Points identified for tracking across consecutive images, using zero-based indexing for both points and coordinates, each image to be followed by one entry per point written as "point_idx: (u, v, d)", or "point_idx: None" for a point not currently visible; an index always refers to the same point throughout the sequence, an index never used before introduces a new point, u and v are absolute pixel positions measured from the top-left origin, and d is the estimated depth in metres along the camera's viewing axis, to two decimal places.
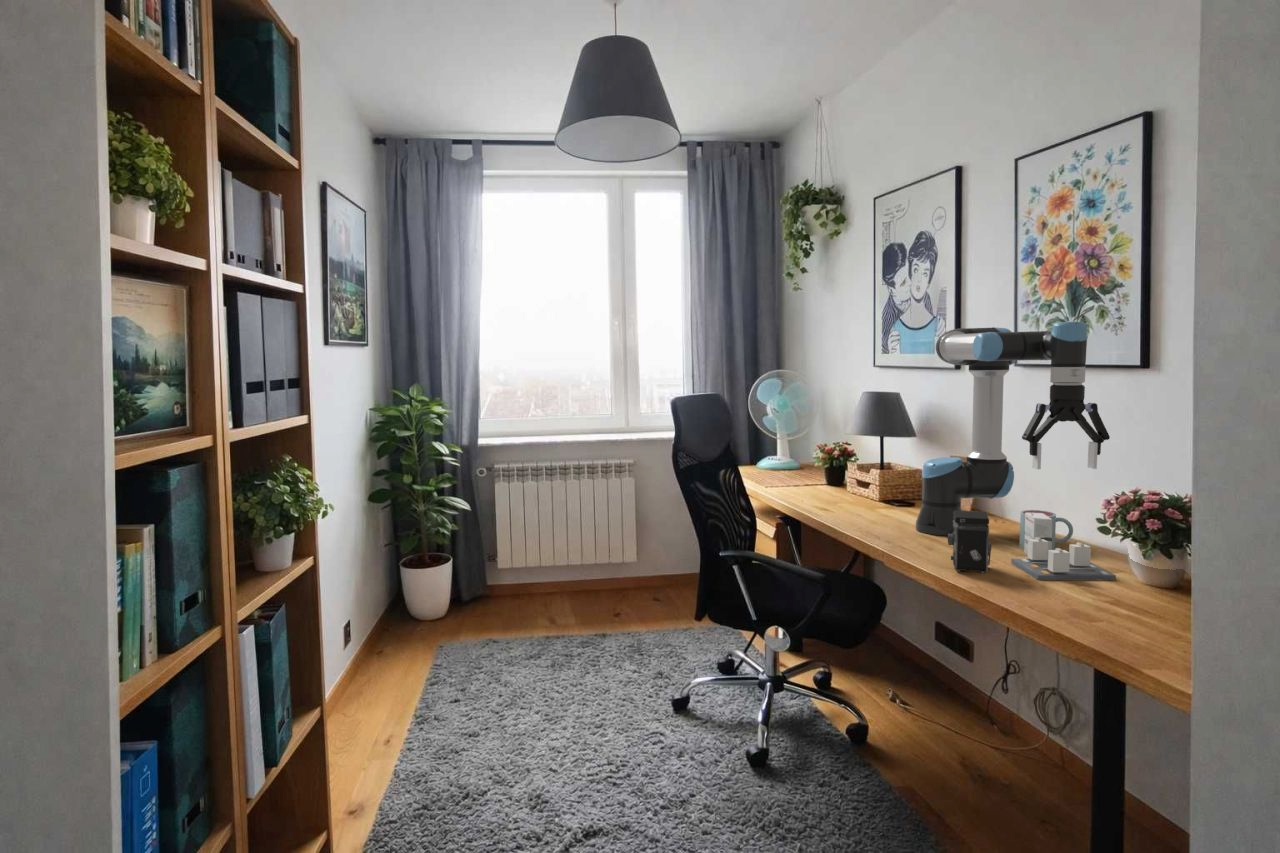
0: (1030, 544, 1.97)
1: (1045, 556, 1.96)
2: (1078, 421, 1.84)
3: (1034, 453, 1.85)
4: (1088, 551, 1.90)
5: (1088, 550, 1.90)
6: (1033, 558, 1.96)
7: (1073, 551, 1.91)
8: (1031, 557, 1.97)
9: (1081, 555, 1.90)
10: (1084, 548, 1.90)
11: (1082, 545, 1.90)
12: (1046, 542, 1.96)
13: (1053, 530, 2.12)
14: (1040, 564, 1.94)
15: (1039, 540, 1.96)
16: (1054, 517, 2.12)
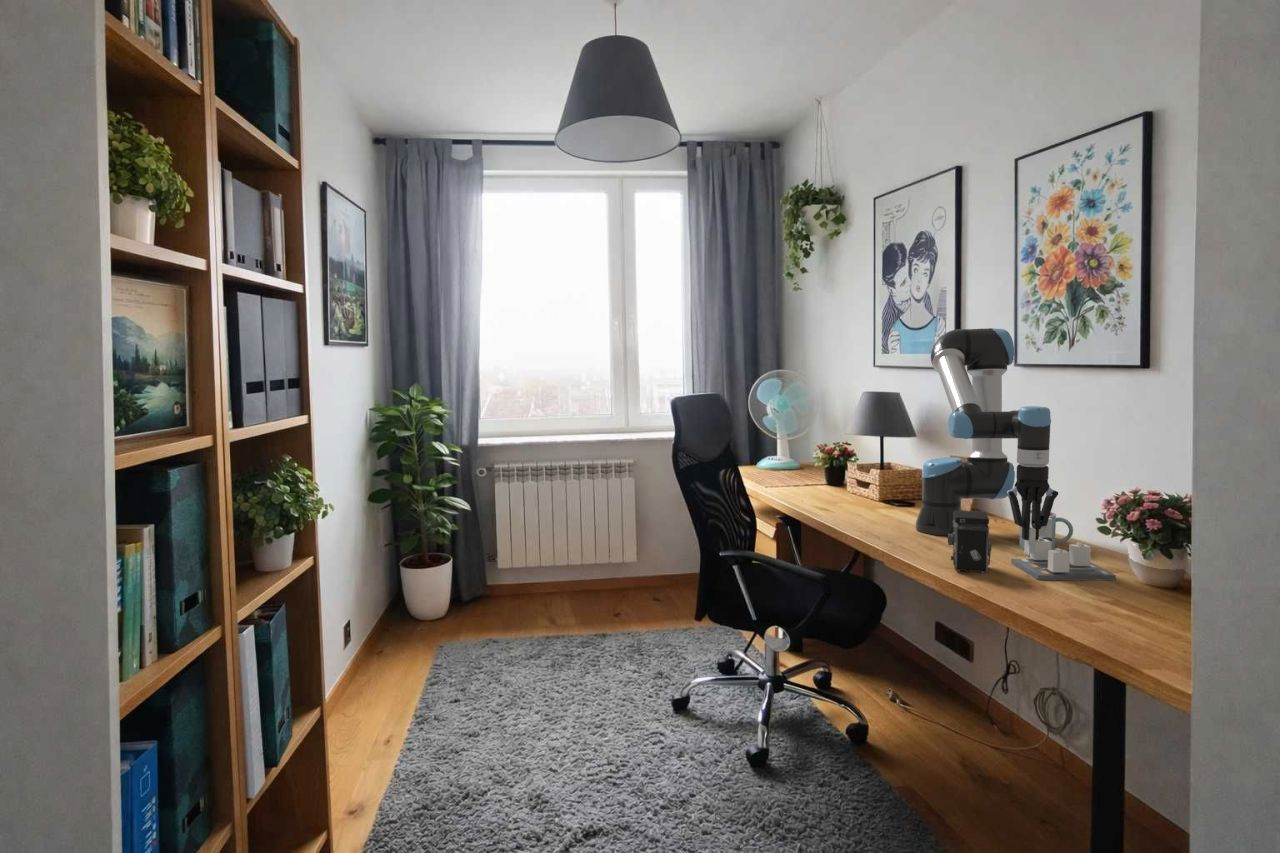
0: None
1: (1047, 556, 1.96)
2: (1034, 501, 1.96)
3: (1026, 538, 1.97)
4: (1088, 551, 1.90)
5: (1088, 550, 1.90)
6: (1035, 558, 1.96)
7: (1073, 551, 1.91)
8: (1033, 557, 1.97)
9: (1081, 555, 1.90)
10: (1084, 548, 1.90)
11: (1082, 545, 1.90)
12: (1048, 542, 1.96)
13: (1053, 530, 2.12)
14: (1040, 564, 1.94)
15: (1041, 540, 1.96)
16: (1054, 517, 2.12)
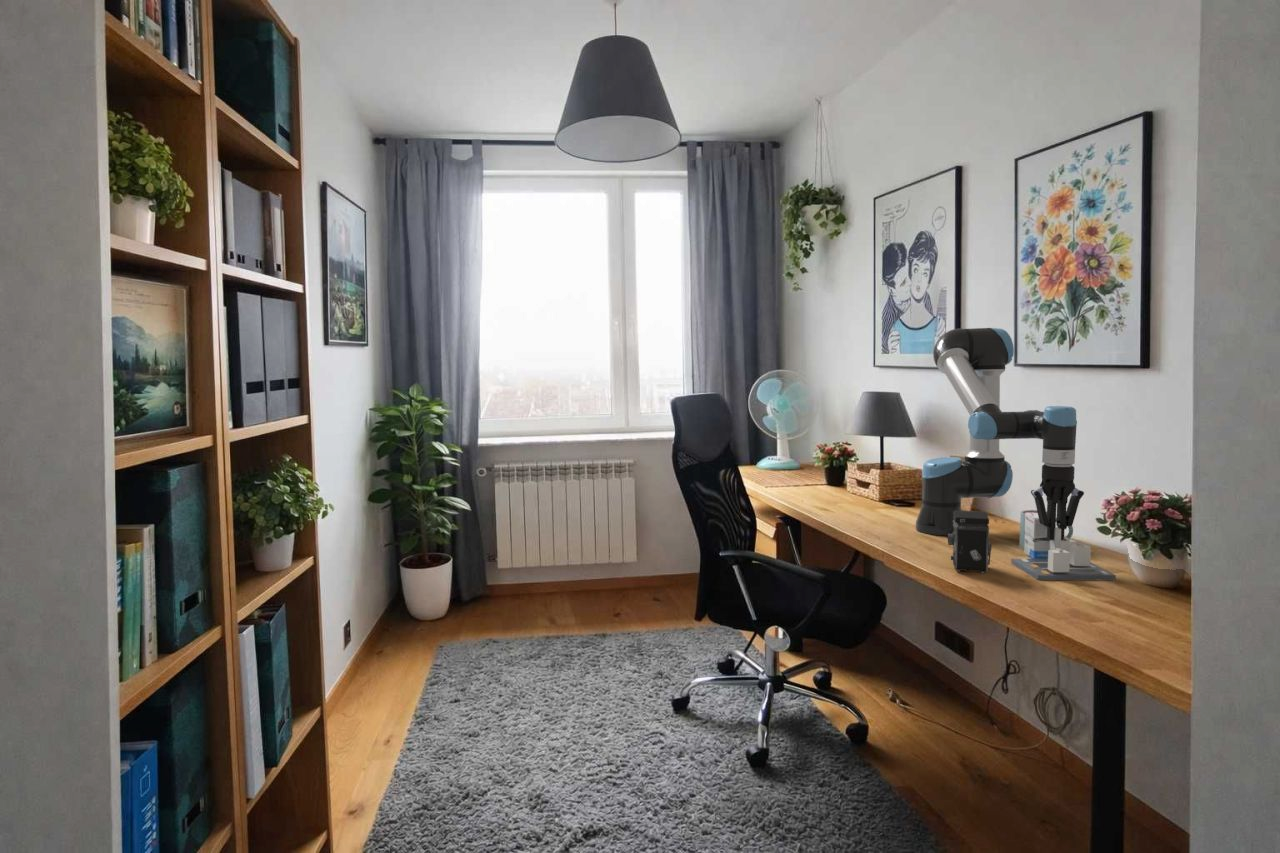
0: None
1: None
2: (1059, 501, 1.96)
3: (1051, 538, 1.96)
4: (1088, 551, 1.90)
5: (1088, 550, 1.90)
6: None
7: (1073, 551, 1.91)
8: None
9: (1081, 555, 1.90)
10: (1084, 548, 1.90)
11: (1082, 545, 1.90)
12: (1074, 542, 1.95)
13: None
14: (1040, 564, 1.94)
15: (1067, 540, 1.96)
16: None
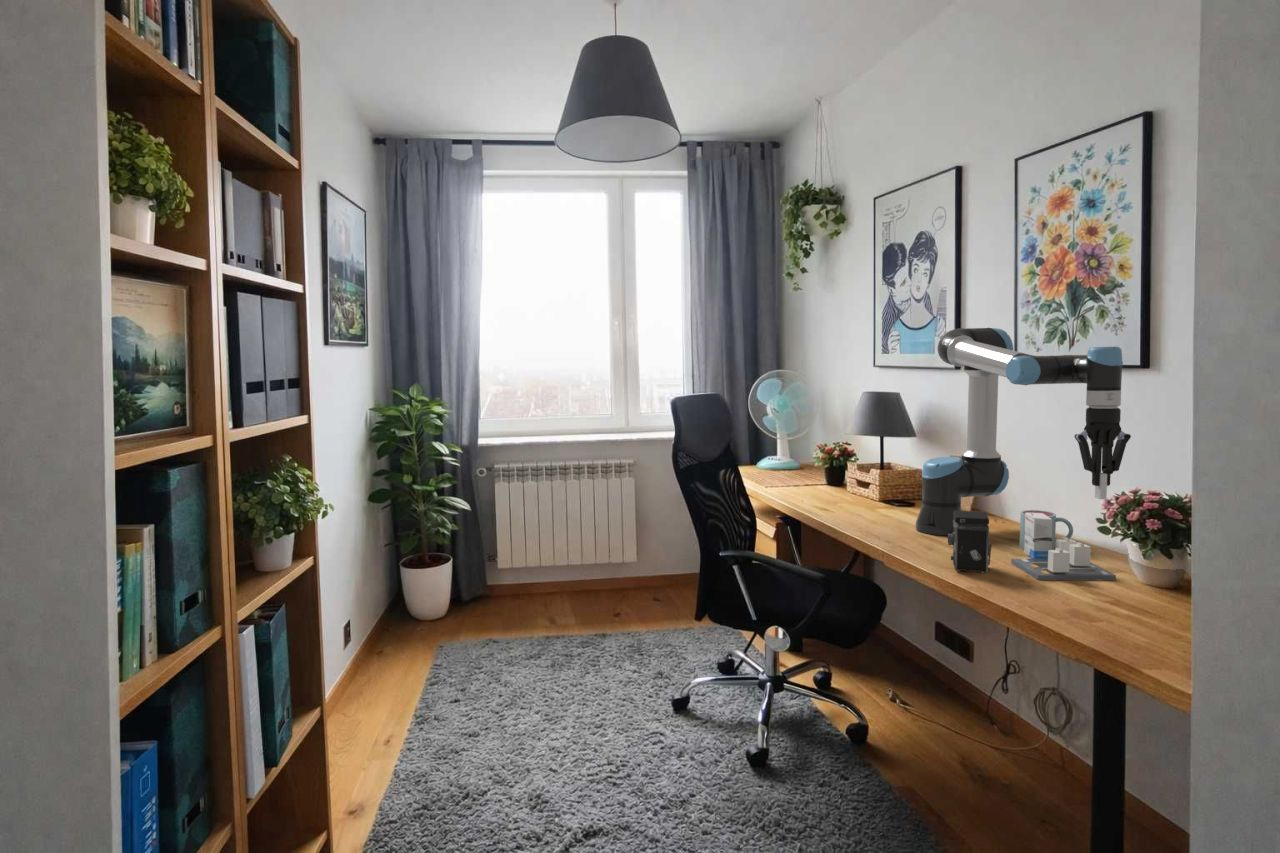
0: (1058, 544, 1.97)
1: None
2: (1104, 445, 1.89)
3: (1097, 483, 1.89)
4: (1088, 551, 1.90)
5: (1088, 550, 1.90)
6: None
7: (1073, 551, 1.91)
8: None
9: (1081, 555, 1.90)
10: (1084, 548, 1.90)
11: (1082, 545, 1.90)
12: (1074, 542, 1.95)
13: (1053, 530, 2.12)
14: (1040, 564, 1.94)
15: (1067, 540, 1.96)
16: (1054, 517, 2.12)
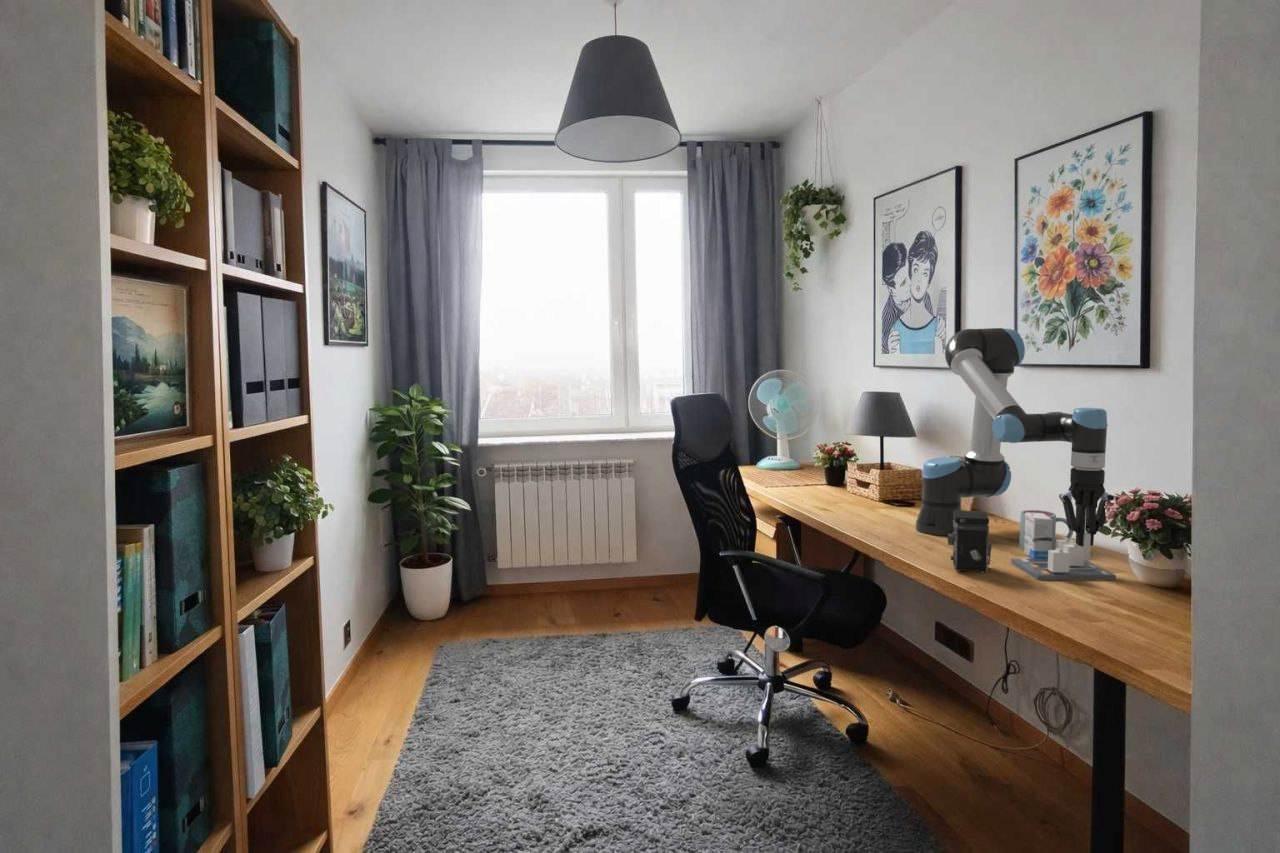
0: (1058, 544, 1.97)
1: None
2: (1088, 505, 1.90)
3: (1080, 543, 1.91)
4: (1082, 551, 1.90)
5: (1082, 550, 1.90)
6: None
7: (1067, 551, 1.91)
8: None
9: (1075, 555, 1.90)
10: (1077, 548, 1.90)
11: (1076, 545, 1.90)
12: (1074, 542, 1.95)
13: (1053, 530, 2.12)
14: (1040, 564, 1.94)
15: (1067, 540, 1.96)
16: (1054, 517, 2.12)
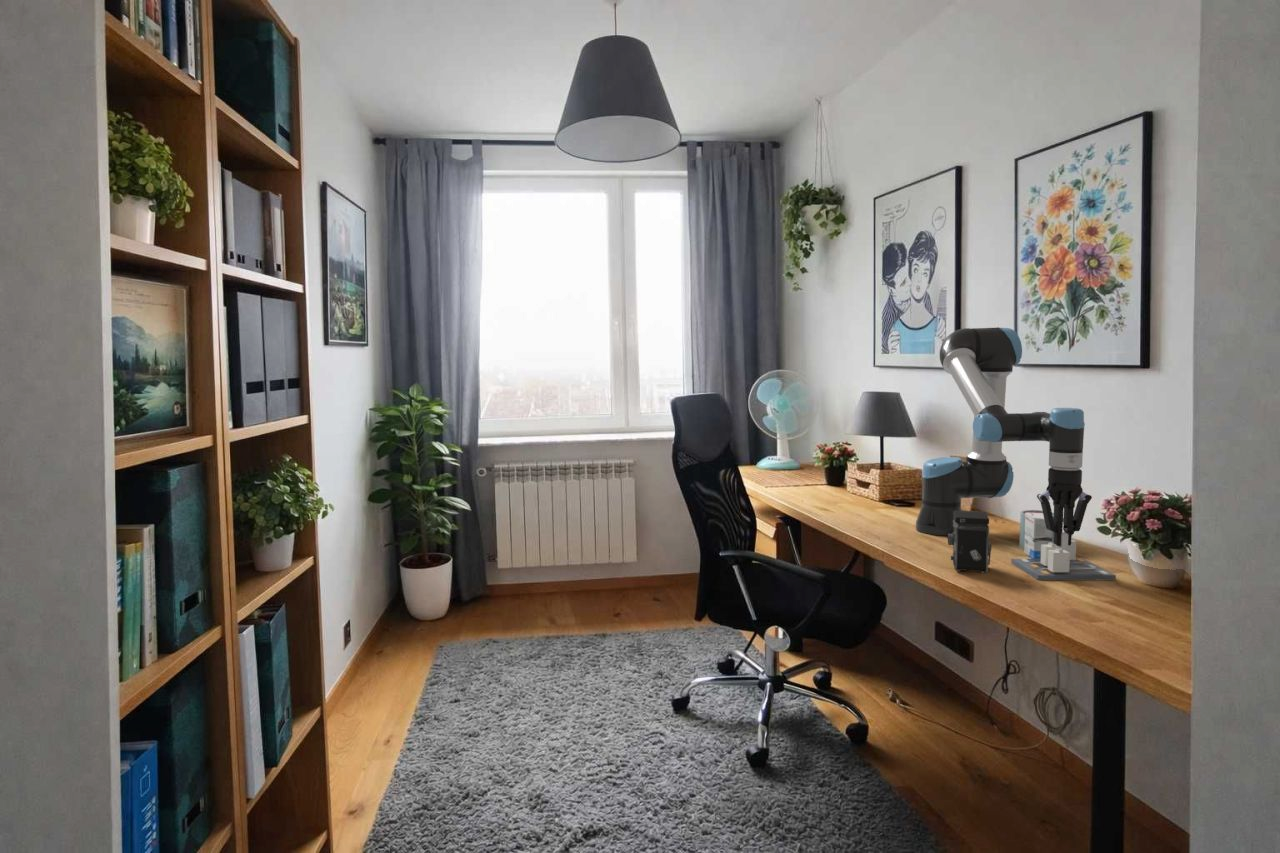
0: None
1: (1072, 555, 1.96)
2: (1066, 505, 1.90)
3: (1058, 543, 1.91)
4: None
5: None
6: None
7: (1045, 551, 1.91)
8: None
9: None
10: (1055, 548, 1.90)
11: (1053, 545, 1.91)
12: (1074, 542, 1.95)
13: None
14: (1040, 564, 1.94)
15: None
16: None
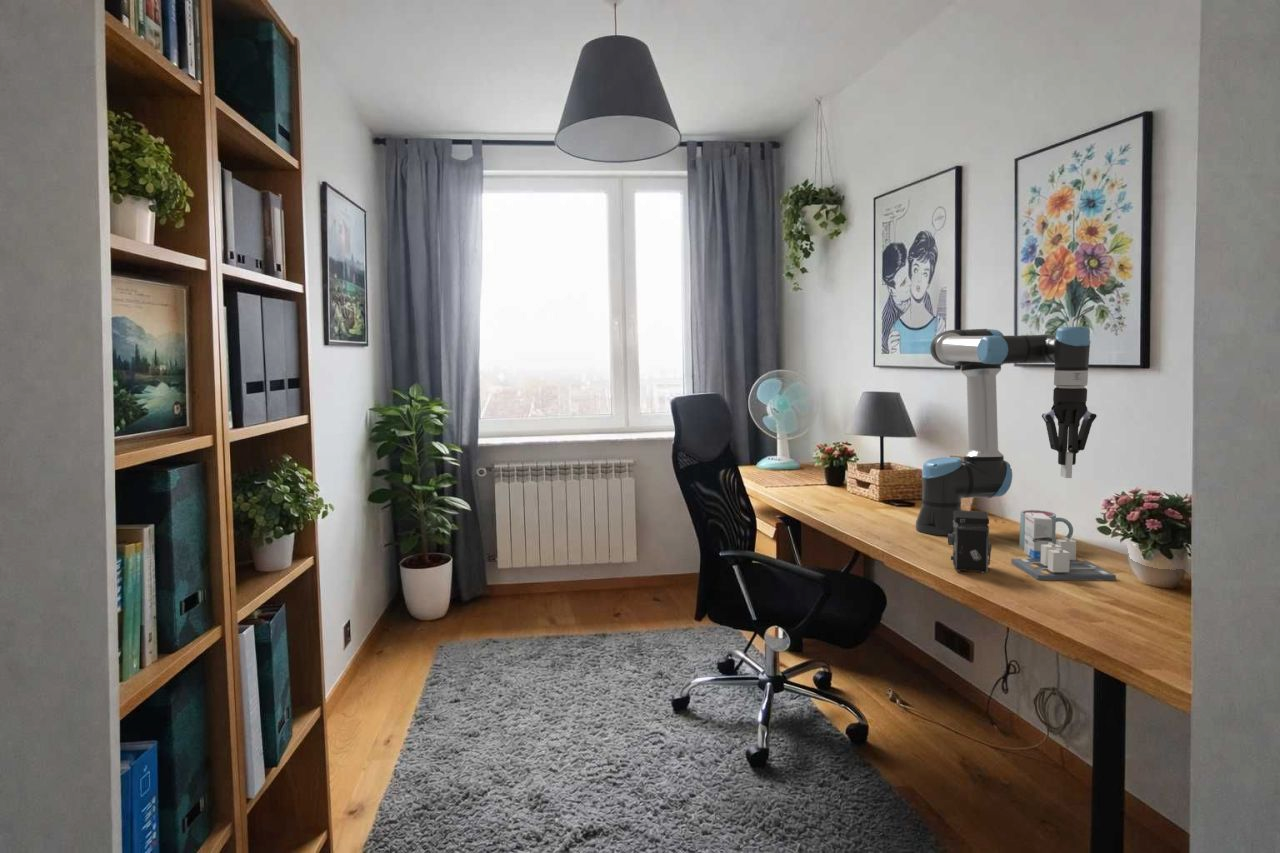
0: (1058, 544, 1.97)
1: (1072, 555, 1.96)
2: (1071, 424, 1.91)
3: (1063, 462, 1.91)
4: None
5: None
6: None
7: (1044, 551, 1.91)
8: None
9: None
10: (1055, 548, 1.90)
11: (1053, 545, 1.91)
12: (1074, 542, 1.95)
13: (1053, 530, 2.12)
14: (1040, 564, 1.94)
15: (1067, 540, 1.96)
16: (1054, 517, 2.12)
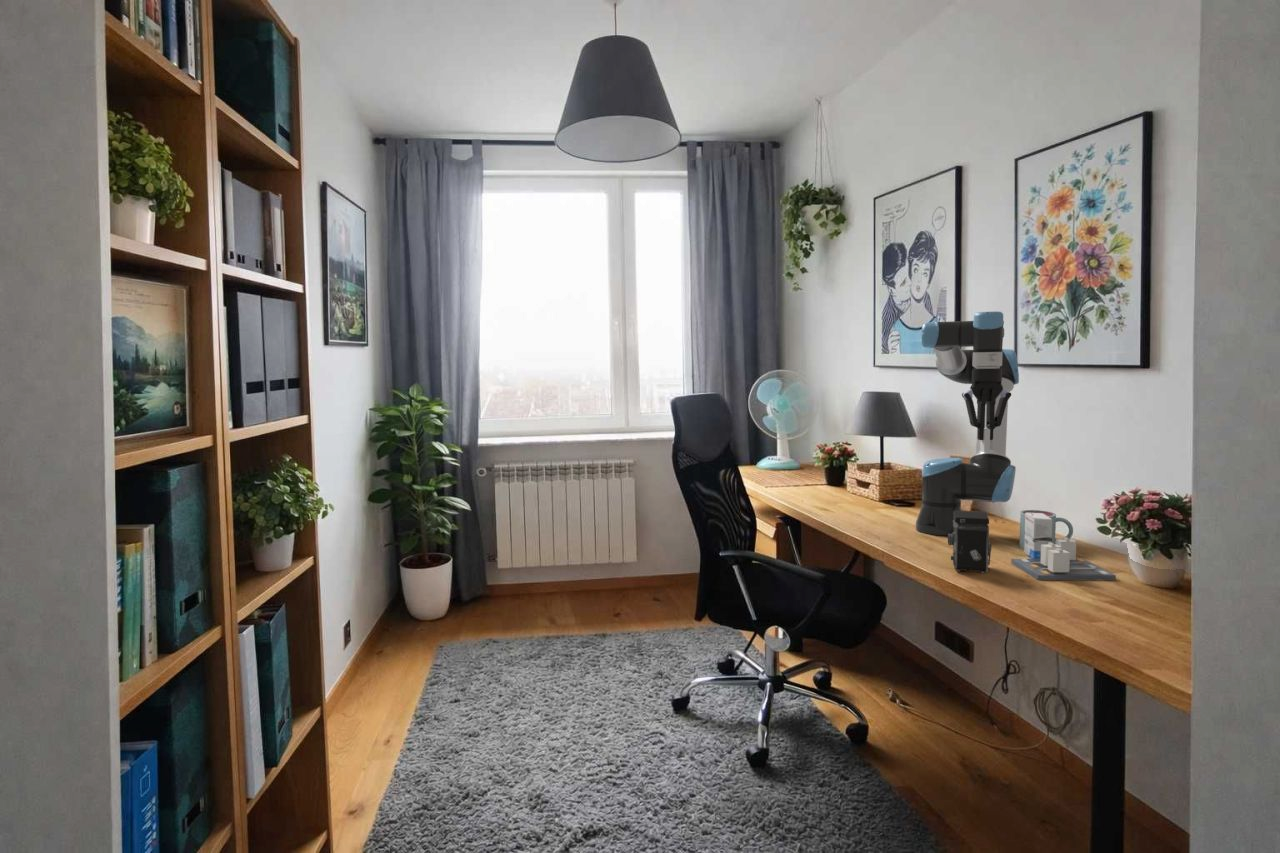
0: (1058, 544, 1.97)
1: (1072, 555, 1.96)
2: (988, 402, 2.06)
3: (981, 438, 2.06)
4: None
5: None
6: None
7: (1044, 551, 1.91)
8: None
9: None
10: (1055, 548, 1.90)
11: (1053, 545, 1.91)
12: (1074, 542, 1.95)
13: (1053, 530, 2.12)
14: (1040, 564, 1.94)
15: (1067, 540, 1.96)
16: (1054, 517, 2.12)
